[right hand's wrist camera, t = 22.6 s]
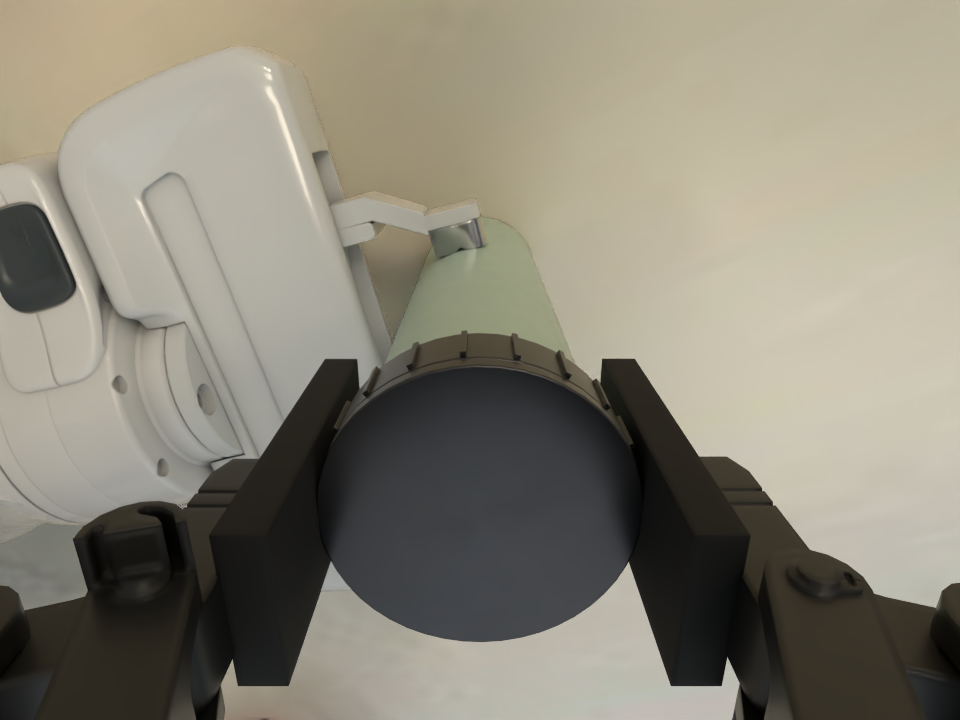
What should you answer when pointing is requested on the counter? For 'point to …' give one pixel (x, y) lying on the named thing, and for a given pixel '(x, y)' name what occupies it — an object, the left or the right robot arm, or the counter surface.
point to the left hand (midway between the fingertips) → (503, 306)
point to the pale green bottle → (481, 295)
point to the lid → (479, 489)
